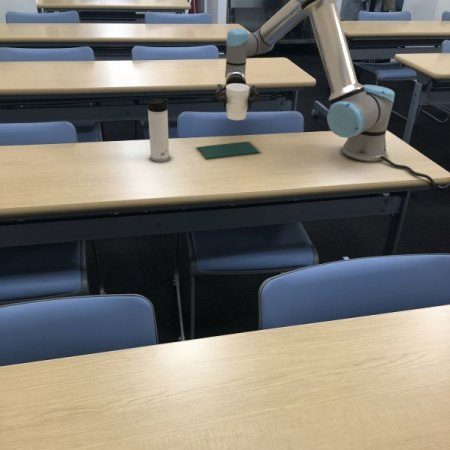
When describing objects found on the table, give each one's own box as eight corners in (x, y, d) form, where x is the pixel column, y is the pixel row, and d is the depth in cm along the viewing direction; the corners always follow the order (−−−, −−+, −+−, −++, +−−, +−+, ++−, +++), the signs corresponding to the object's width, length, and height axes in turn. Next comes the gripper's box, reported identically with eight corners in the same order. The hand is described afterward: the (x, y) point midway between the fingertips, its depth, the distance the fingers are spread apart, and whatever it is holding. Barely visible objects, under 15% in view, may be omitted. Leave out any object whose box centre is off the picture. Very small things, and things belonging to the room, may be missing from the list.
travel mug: (167, 163, 164) (165, 102, 152) (148, 161, 165) (144, 100, 152) (172, 155, 169) (170, 96, 157) (153, 154, 170) (150, 94, 157)
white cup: (245, 122, 164) (247, 91, 158) (222, 119, 165) (223, 89, 159) (249, 114, 170) (251, 84, 164) (227, 112, 171) (228, 82, 165)
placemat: (259, 153, 174) (259, 151, 174) (206, 159, 168) (206, 158, 168) (248, 142, 181) (248, 141, 181) (197, 148, 175) (197, 147, 175)
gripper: (262, 95, 181) (267, 116, 163) (207, 93, 180) (206, 114, 162) (264, 73, 176) (269, 93, 158) (208, 71, 175) (206, 90, 158)
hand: (237, 103), depth 160 cm, fingers closed on white cup, 8 cm apart
